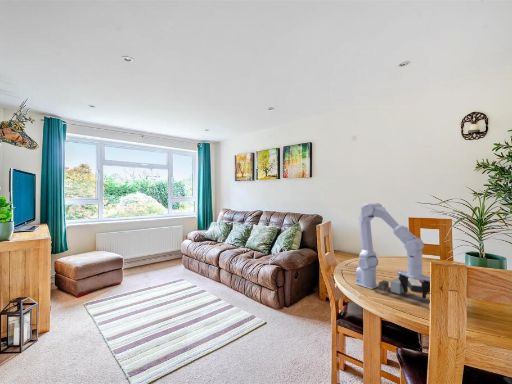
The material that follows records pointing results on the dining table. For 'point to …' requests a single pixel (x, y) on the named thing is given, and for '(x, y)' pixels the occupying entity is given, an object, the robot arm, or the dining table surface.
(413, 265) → the robot arm
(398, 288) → the grey block
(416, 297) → the cord board
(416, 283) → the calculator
